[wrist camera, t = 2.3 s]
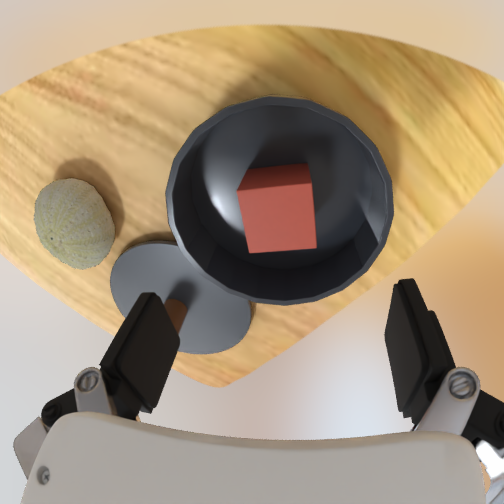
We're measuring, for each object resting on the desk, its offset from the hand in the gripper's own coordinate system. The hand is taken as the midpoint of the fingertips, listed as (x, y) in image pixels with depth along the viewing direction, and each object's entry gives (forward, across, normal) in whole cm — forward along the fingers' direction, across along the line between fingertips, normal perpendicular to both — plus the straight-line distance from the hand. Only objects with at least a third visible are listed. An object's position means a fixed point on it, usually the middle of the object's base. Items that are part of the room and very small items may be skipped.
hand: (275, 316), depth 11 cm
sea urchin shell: (+13, +20, -1) cm, 23 cm away
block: (+12, 0, 0) cm, 12 cm away
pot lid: (+12, +12, +10) cm, 20 cm away
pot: (+13, 0, 0) cm, 13 cm away
